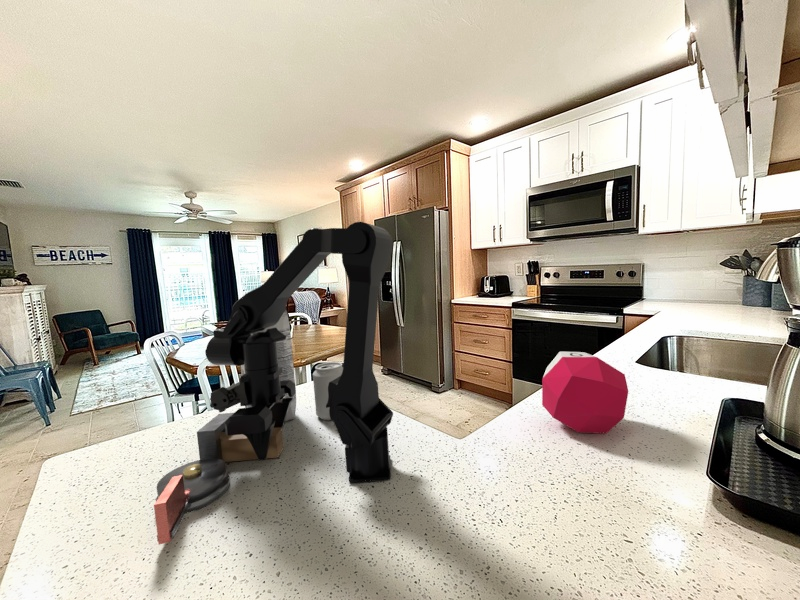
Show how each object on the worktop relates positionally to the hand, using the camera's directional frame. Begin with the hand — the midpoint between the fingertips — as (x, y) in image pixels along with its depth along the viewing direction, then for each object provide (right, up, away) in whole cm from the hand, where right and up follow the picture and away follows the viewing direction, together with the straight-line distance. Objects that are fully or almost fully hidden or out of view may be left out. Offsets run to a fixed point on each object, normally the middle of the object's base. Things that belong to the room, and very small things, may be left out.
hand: (269, 448), depth 61 cm
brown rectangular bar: (-5, -1, 0) cm, 5 cm away
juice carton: (-6, -1, +16) cm, 17 cm away
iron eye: (-9, -2, 0) cm, 9 cm away
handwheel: (-7, -1, -14) cm, 15 cm away
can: (+8, 0, +16) cm, 18 cm away
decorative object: (+60, +3, +3) cm, 60 cm away
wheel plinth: (-8, -2, -10) cm, 13 cm away
